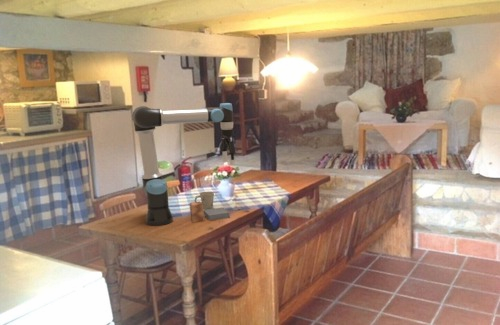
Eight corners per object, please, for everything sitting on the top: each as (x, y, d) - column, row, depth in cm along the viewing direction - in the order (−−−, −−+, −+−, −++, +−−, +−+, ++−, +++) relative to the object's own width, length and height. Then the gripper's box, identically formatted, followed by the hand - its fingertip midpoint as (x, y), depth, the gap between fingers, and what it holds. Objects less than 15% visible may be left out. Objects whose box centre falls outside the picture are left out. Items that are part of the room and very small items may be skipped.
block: (193, 222, 265) (192, 205, 263) (190, 219, 271) (189, 202, 269) (203, 220, 267) (202, 203, 265) (201, 218, 273) (200, 201, 271)
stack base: (209, 220, 267) (209, 215, 267) (203, 215, 278) (203, 210, 278) (229, 217, 271) (229, 212, 271) (223, 212, 282) (223, 207, 282)
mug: (212, 210, 286) (211, 194, 284) (192, 210, 289) (191, 194, 287) (216, 207, 294) (215, 191, 293) (196, 206, 297) (195, 191, 295)
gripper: (240, 130, 277) (241, 165, 281) (226, 126, 300) (227, 159, 304) (227, 131, 275) (229, 167, 278) (215, 127, 298) (216, 160, 301)
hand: (228, 163), depth 291 cm, fingers open, 13 cm apart
